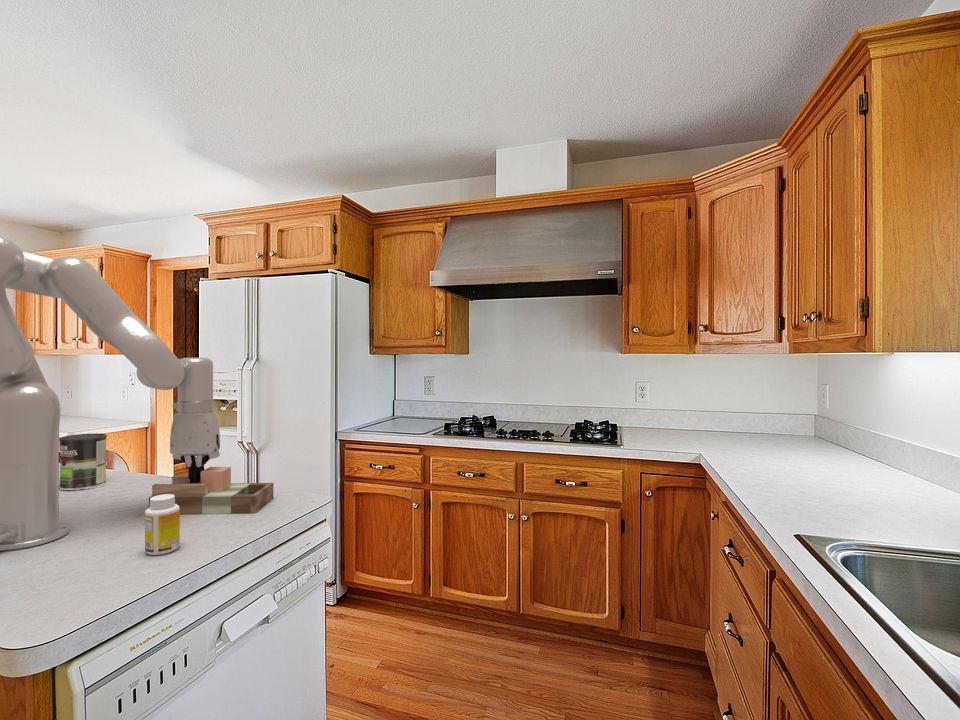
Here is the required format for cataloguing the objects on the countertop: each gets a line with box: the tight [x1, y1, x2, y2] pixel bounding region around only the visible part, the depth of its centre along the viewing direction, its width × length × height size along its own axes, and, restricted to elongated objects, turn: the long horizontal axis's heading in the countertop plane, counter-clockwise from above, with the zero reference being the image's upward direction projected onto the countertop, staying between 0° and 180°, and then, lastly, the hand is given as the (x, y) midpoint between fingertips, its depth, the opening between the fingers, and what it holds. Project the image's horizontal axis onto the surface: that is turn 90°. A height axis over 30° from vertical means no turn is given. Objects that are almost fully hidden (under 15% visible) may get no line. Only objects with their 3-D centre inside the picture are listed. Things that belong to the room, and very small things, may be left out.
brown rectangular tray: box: [148, 474, 274, 515], centre depth 118 cm, size 12×24×6 cm, turn 94°
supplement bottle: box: [144, 494, 181, 556], centre depth 92 cm, size 6×6×10 cm
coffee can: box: [59, 432, 107, 491], centre depth 135 cm, size 10×10×14 cm
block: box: [201, 466, 232, 492], centre depth 119 cm, size 5×5×5 cm
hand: (196, 481), depth 118 cm, fingers closed
